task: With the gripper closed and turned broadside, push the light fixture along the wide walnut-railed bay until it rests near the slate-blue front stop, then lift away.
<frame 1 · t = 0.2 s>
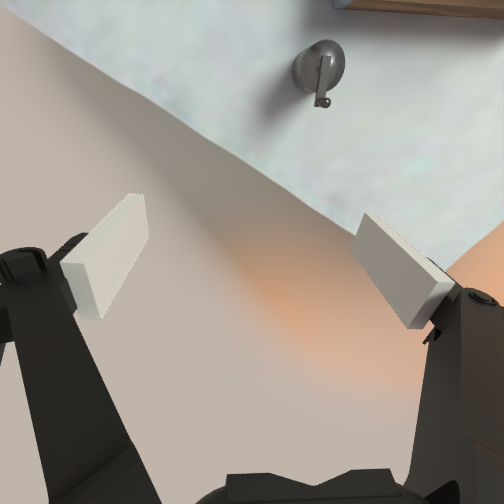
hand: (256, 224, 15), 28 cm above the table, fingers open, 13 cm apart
winch drum: (310, 70, 34), on the table
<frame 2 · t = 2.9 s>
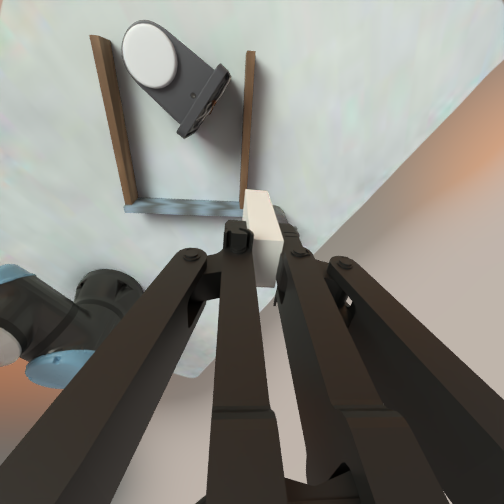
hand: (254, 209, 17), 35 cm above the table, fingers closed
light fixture: (182, 78, 42), on the table
bay: (185, 137, 46), on the table
winch drum: (272, 215, 56), on the table
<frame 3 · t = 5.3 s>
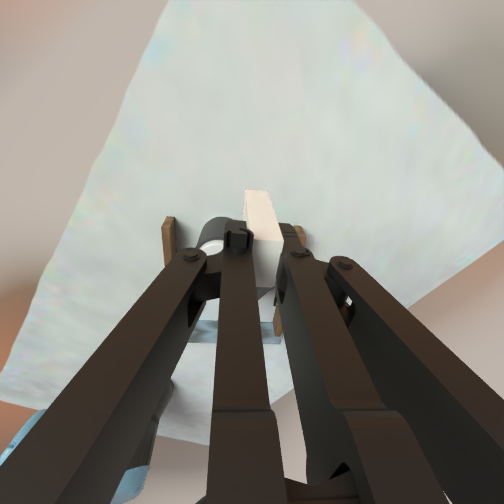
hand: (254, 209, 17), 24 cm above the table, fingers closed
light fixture: (234, 240, 46), on the table
bay: (230, 279, 50), on the table
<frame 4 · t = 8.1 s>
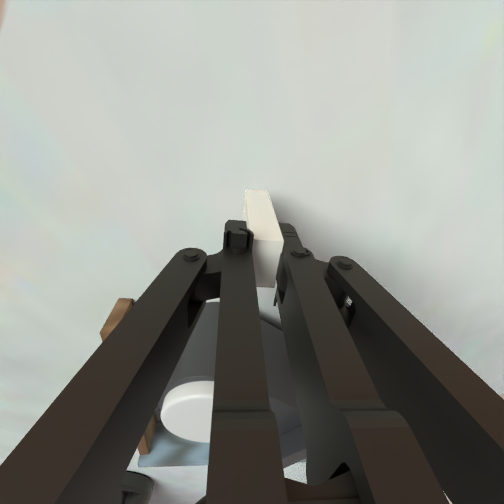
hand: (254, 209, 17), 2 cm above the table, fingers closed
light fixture: (237, 327, 27), on the table
bay: (231, 376, 32), on the table
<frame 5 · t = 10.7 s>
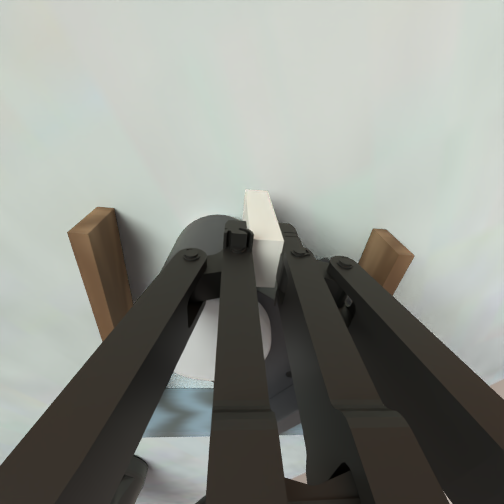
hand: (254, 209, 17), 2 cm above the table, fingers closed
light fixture: (244, 262, 23), on the table, touching gripper
bay: (237, 328, 27), on the table
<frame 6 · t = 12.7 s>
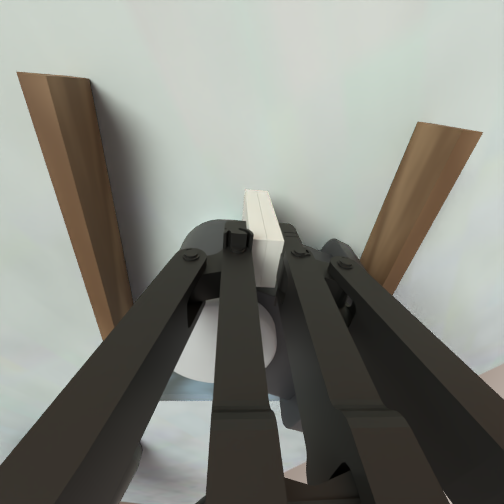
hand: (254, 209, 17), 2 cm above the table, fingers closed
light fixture: (252, 260, 23), on the table, touching gripper
bay: (245, 267, 23), on the table
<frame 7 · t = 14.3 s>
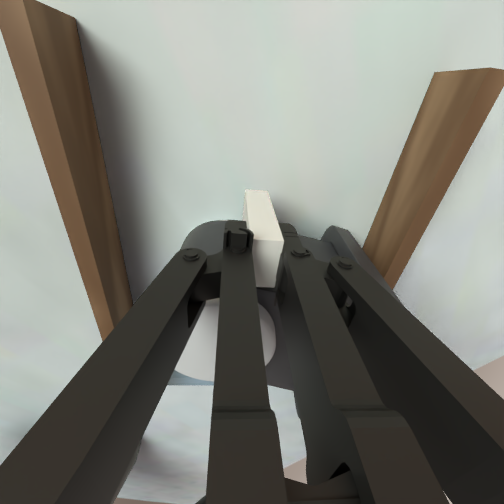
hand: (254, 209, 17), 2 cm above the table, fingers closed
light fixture: (253, 257, 23), on the table, touching gripper
bay: (246, 241, 21), on the table
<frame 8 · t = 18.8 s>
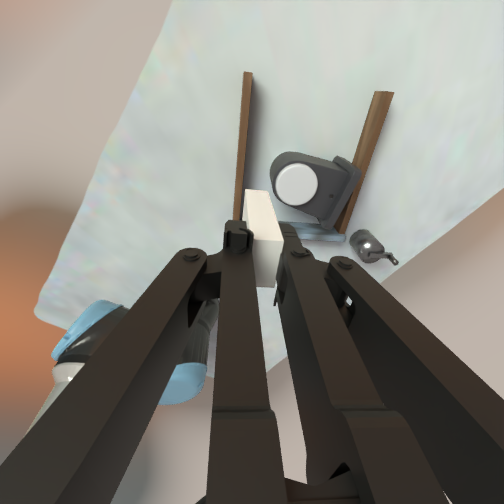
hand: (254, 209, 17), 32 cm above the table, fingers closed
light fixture: (299, 174, 49), on the table
bay: (297, 164, 48), on the table
winch drum: (360, 239, 58), on the table
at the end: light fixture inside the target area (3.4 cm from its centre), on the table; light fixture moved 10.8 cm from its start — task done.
